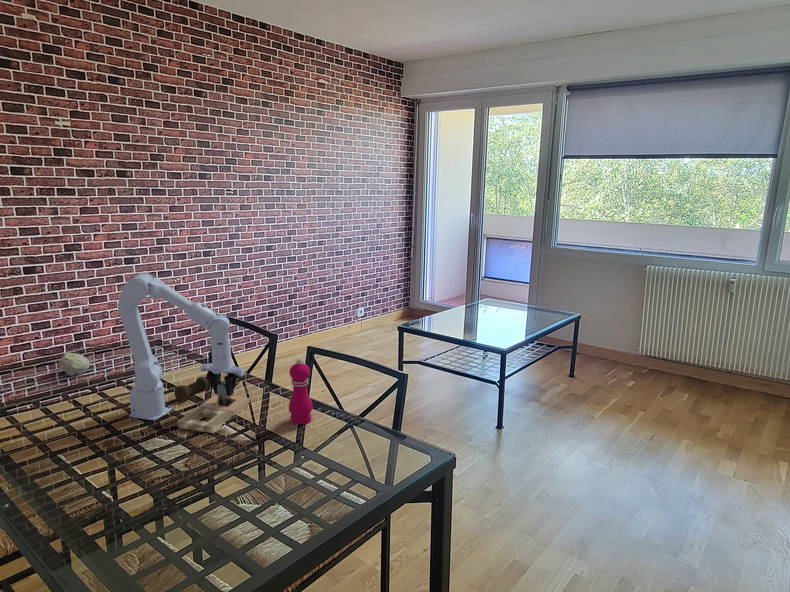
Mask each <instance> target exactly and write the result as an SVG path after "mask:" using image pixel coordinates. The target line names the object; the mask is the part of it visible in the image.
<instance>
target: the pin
mask: <svg viewBox="0 0 790 592" xmlns="http://www.w3.org/2000/svg"><path fill="white" fill-rule="evenodd" d="M216 384H217V398H218V405H219V406H224V407H226V406H229V405H231V404H230V403H231V396H232V395H231V396H228V395H227V386H226V382H225V380H224V379H223V380H220V381H218V382H217V383H216Z"/></svg>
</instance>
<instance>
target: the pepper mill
mask: <svg viewBox="0 0 790 592" xmlns="http://www.w3.org/2000/svg"><path fill="white" fill-rule="evenodd" d="M295 361H296V363H294V364H292V366H291V367H290V369H289V375H290V378H291V386H292V389H293V391H292V395H291V398H290V401H289V402H288V403H289V404H288V412H289V413H290V422H291V424H293V423H294V424H293V425H295V424H304V425H308V424H310V422H311V421H312V414H311V412H312V411H313V409H314V407H313V405H314V404H313V401H312V399H311V397H310V395H309V392H308V385H309V377H310V374H311V370H310V367H309V366H308V365H307V364H306V363H303V359H302V358H298V359H297V360H295Z"/></svg>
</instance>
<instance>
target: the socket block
mask: <svg viewBox="0 0 790 592" xmlns="http://www.w3.org/2000/svg"><path fill="white" fill-rule="evenodd" d="M248 403H251V402H250V397H244V396H236V395H231V403H230V404H229V405H227V406H220V405H218V398H217V395H216V394H214V395H212V397H210V398H209V399H207V400H206V401H204V402H203V403H201V404H200V405H198V407H201V408H208V409H215V410H221V411H228V412H232V416H234V415H235V414H236V415H238V414H239V413H240V412H241V411H242V409H243V408H244V407H245V406H246V405H247V404H248ZM246 407H247V406H246ZM246 407H245V408H246ZM245 408H244V409H245ZM244 409H243V410H244ZM238 412H239V413H238ZM237 413H238V414H237ZM236 415H235V416H236ZM235 416H234V417H235Z"/></svg>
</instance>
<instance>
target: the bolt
mask: <svg viewBox="0 0 790 592" xmlns="http://www.w3.org/2000/svg"><path fill="white" fill-rule="evenodd" d="M210 385H211V383H210V382H209V380H208V379H207V378H206V376H199V377H197V379H195V382H192V383H190V384H188V385H182V384H179V385H177V386H176V388H175V389H174V392H173V393H174V396H175V398H176V400H177V401H179V402H187V401H188V400H189V399H190V396H191V395H193V394H195V393H197V392H198V391H206V390H208V388H209V386H210ZM211 386H212V385H211Z"/></svg>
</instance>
